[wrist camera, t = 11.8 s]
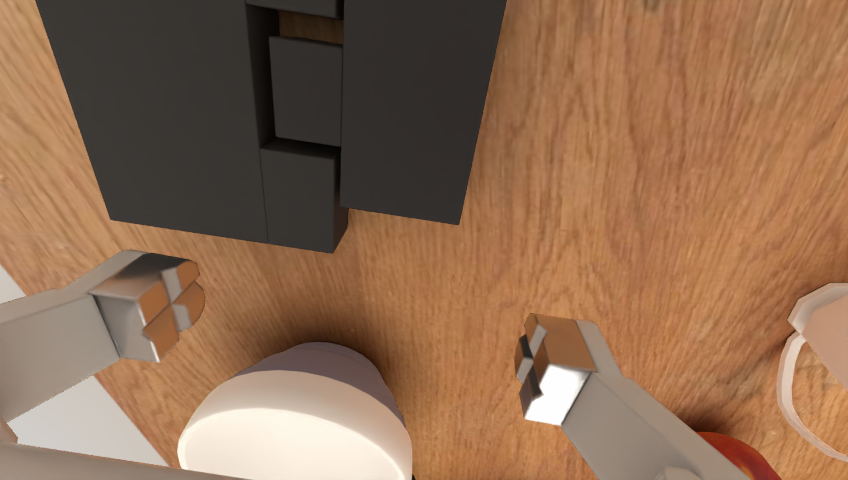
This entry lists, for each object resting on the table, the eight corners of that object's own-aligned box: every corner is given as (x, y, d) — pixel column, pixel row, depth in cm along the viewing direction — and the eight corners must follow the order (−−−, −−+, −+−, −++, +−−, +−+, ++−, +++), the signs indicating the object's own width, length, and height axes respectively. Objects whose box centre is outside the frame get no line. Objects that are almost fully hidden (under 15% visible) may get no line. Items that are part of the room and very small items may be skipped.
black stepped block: (293, -44, 15) (260, -62, 12) (501, -10, 15) (511, -21, 13) (301, 177, 20) (279, 197, 17) (458, 201, 20) (459, 225, 17)
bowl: (227, 295, 25) (145, 388, 18) (432, 324, 25) (424, 427, 18) (251, 421, 32) (199, 520, 25) (410, 443, 32) (399, 548, 25)
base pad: (48, -186, 13) (-49, -241, 11) (359, -136, 14) (337, -179, 11) (151, 198, 21) (109, 220, 19) (347, 228, 21) (333, 254, 19)
